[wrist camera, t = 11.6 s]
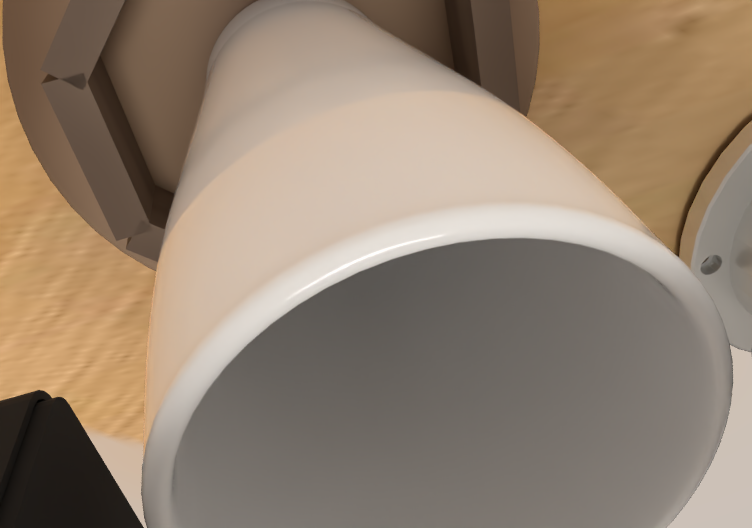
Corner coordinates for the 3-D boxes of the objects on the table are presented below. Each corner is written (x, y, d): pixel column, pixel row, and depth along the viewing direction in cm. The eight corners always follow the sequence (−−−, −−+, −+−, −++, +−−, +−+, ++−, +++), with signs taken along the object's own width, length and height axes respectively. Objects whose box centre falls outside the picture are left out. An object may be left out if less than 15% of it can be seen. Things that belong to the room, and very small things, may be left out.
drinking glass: (317, 229, 23) (458, 711, 10) (129, 104, 19) (-6, 585, 7) (460, 64, 21) (847, 403, 8) (278, -104, 18) (461, 36, 5)
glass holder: (499, -303, 17) (560, -332, 14) (543, 215, 25) (587, 264, 23) (-108, -157, 16) (-177, -157, 13) (138, 334, 24) (129, 401, 22)
